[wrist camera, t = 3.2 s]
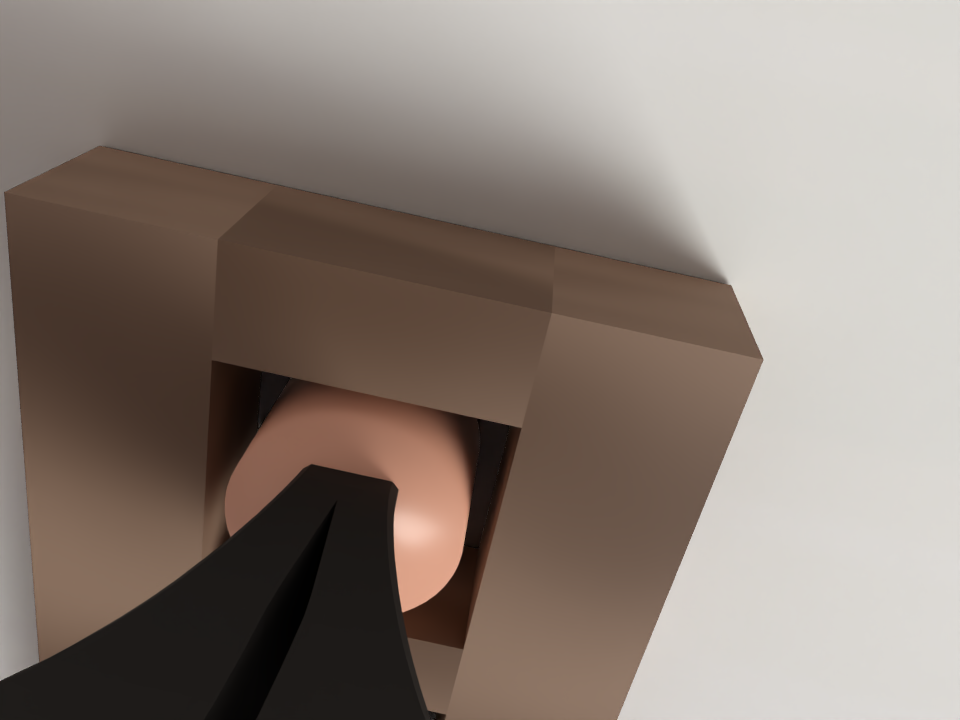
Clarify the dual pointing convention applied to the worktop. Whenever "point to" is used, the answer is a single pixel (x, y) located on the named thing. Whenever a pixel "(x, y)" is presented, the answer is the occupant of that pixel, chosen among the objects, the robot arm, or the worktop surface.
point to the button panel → (375, 371)
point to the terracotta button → (371, 470)
